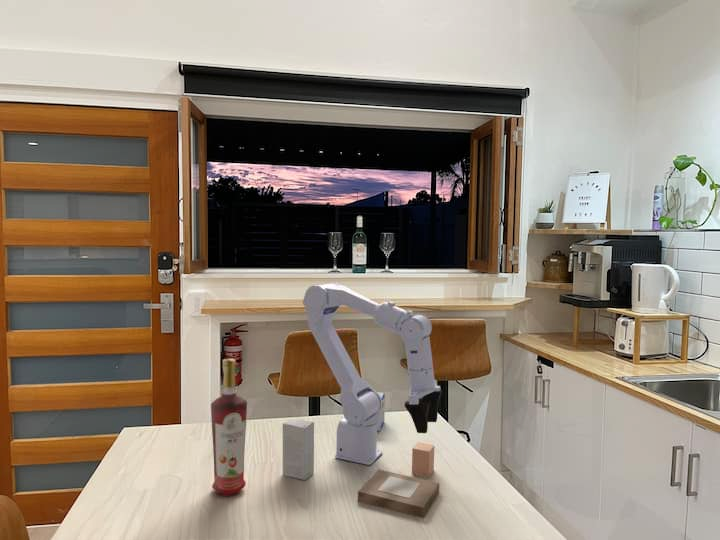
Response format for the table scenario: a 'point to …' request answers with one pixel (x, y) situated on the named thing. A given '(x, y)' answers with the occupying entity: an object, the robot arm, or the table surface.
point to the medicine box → (381, 412)
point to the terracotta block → (423, 459)
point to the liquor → (229, 435)
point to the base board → (399, 492)
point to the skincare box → (298, 448)
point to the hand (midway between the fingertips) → (427, 427)
